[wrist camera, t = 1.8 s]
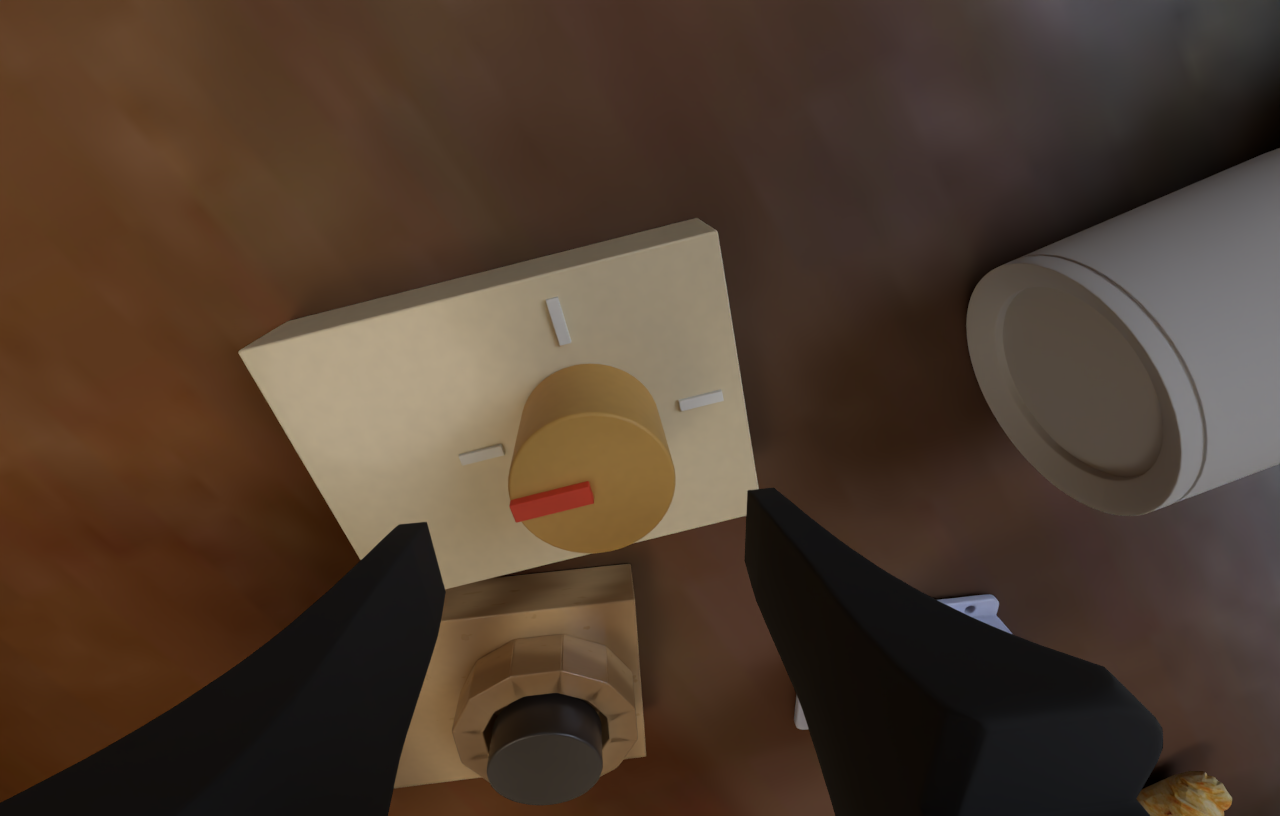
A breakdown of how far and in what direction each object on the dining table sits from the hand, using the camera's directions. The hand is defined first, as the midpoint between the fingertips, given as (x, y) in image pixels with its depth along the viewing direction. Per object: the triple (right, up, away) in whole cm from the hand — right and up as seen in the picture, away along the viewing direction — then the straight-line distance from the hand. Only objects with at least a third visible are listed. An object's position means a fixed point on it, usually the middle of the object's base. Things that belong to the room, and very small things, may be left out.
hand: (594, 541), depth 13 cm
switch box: (-5, -9, +13) cm, 17 cm away
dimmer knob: (-1, +2, +5) cm, 6 cm away
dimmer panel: (-3, +3, +8) cm, 9 cm away
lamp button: (-3, -10, +10) cm, 15 cm away
